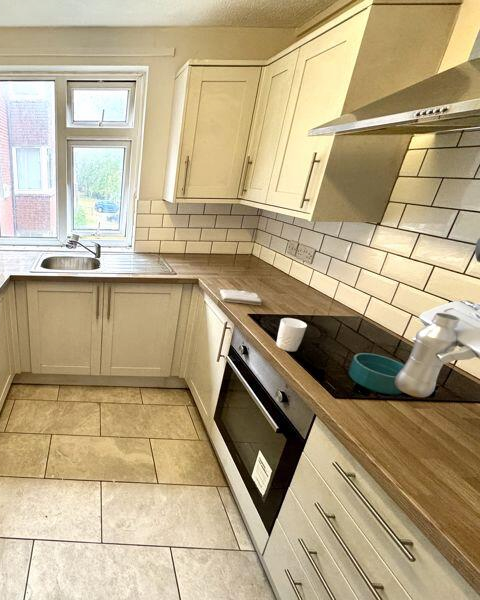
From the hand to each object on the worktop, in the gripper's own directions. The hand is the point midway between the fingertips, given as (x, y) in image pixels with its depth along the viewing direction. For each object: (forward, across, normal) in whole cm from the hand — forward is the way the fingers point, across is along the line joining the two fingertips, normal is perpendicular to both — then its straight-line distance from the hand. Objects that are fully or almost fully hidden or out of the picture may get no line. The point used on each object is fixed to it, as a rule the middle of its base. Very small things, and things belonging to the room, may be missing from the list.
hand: (427, 350), depth 71 cm
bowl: (+11, -22, +21) cm, 32 cm away
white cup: (+25, -38, +8) cm, 46 cm away
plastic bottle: (+8, 0, +9) cm, 12 cm away
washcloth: (+30, -83, +2) cm, 88 cm away
